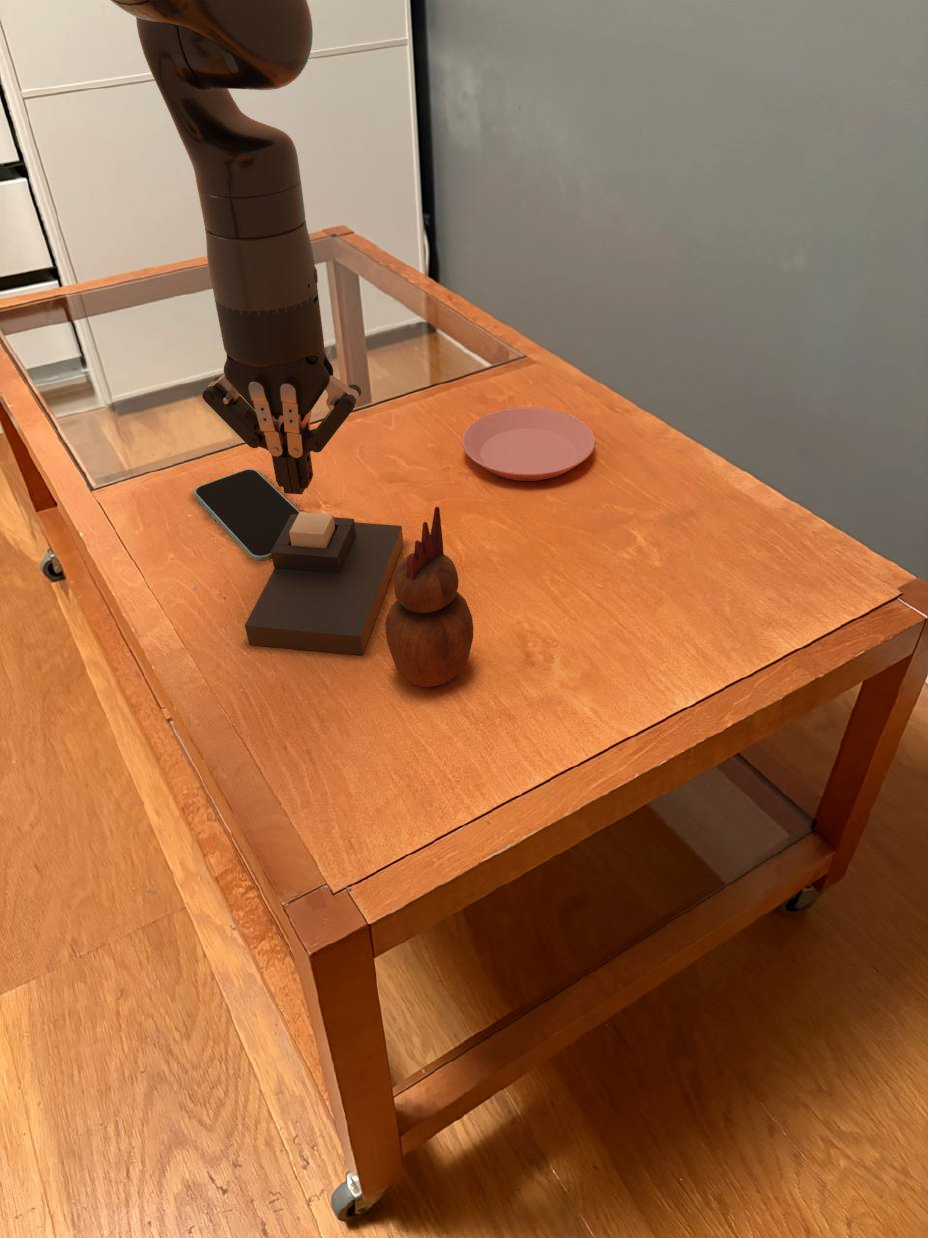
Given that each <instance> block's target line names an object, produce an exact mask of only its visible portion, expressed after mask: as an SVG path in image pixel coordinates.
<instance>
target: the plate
mask: <svg viewBox="0 0 928 1238" xmlns="http://www.w3.org/2000/svg"><path fill="white" fill-rule="evenodd" d="M461 444H462V445H461V446H462V449H463V450H464V452H465V454H466V455H467V456H468V457H469V458H470V459H471V460H472V461H473V462H475V463H476V464H477V465H479V466H481V467H482V468H484V469H485V470H487V471H488V472H490V473H492V474H494V475H496V476H498V477H501V478H503V479H504V478H505V479H509V480H514V481H522V482H524V481H525V482H535V481H543V480H548V479H553V478H556V477H559V476H561V475H564V474H565V473H567V472H569V471H570V470H572V469H574V468H575V467H577V466H578V465H580V464H581V463H583V462H584V461H586V460H587V459H588V458H589V457H590V456H591V455H592V453H593V451H594V449H595V447H596V437H595V433H594V432H593V431H592V429H591V428H590V426H588V424H587V423H586V422H584V421H582V420H581V419H580V418H578V417H576V416H574V415H571V414H569V413H567V412H563V411H560V410H556V409H551V408H545V407H531V406H530V407H529V406H527V407H526V406H525V407H513V408H506V409H502V410H497V411H494V412H491V413H488V414H486V415H483V416H481V417H480V418H477V419H476V420H474V421H473V422H472V423H471V424H470V425H468V427H467V428H466V429H465V431H464V433H463V435H462V438H461Z"/></svg>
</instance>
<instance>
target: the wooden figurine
mask: <svg viewBox="0 0 928 1238" xmlns="http://www.w3.org/2000/svg"><path fill="white" fill-rule="evenodd" d="M428 524H429V523H428V522H426V521H423V522H422V527H421V528H422V529H421V540H417V539H415V541H414V551H413V552H411V553H409V554H408V555H406V556H405V557H404V558H403V559H401V561H400V562H399V563H398V565H397V566H396V569H395V570H394V571H395V572H394V575H393V589H394V596H395V599H396V600H395V601H394V603H393V604H392V605H391V606H390V608H389V610H388V613H387V614H386V618H385V622H384V626H385V627H384V628H385V637H386V642H387V643H386V644H387V645H388V649H389V652H390V655H391V658H392V661H393V664H394V666H395V668H396V670H397V671H398V672H399V674H400V675H401V676H402V677H403V678H404V679H405V680H406V681H407V682H408V683H410V684H412V685H413V686H415V687H420V688H421V687H422V688H430V687H431V688H432V687H437V686H440V685H443V684H446V683H448V682H450V681H451V680H453V679H454V678H456V677H457V676H458V675H459V674H460V673H461V672H462V671H463V669H464V667H465V665H466V664H467V661H468V659H469V656H470V653H471V649H472V645H473V639H474V622H473V614H472V613H471V610H470V607H469V606H468V603H467V600H466V598H465V597H463V595H461V593H459V592H458V589H459V582H460V581H459V574H458V571H457V568H456V565H455V563H454V561H453V560H452V559H451V558H450V557H449V556H448V555H446V554H445V551H444V541H443V540H444V539H443V531H442V519H441V511H440V507H439V506H435V507H434V511H433V517H432V522H431V529H430V528H429V525H428Z"/></svg>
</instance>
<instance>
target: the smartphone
mask: <svg viewBox="0 0 928 1238" xmlns="http://www.w3.org/2000/svg"><path fill="white" fill-rule="evenodd" d="M194 496H195V499H196V501H197V502H198V503H199V505H200V506H201V507H202V508H203V509H204V510H205V511H206V512H207V513H208V514H209V515H210V516H211V517H212V518H213V519H214V520H215V522H216V523H217V524H219V526H220V527H221V528H222V529H223V530H224V531H225V533H227V535H229V536H230V537H231V539H232V540H233V541H234V542H235V543H236V544H237V546H239V547H240V548H241V549H242V550H243V551H244V552H245V553H246V554H247V556H248V557H249V558H251V559H252V560H254V561H256V562H263V561H268V560H269V559H272V556H271V551H272V549H273V547H274V545H275V543H276V542H277V540H278V538H279V536H280V534H281V532H282V531H283V529H284V527H285V525H286V523H287V521H288V520H289V518H290V516H291V514H297V515H298V514H299V512H301V511H300V510H299V509H298V508H297V507H296V506H295V505H294V504H293V503H292V502H291V501H290V500H289V499H288V498H286V497H285V496H284V495H283V494H282V493H281V492H280V490H278V489H277V488H276V487H275V486H274V485H273V484H272V483H271V482H269V480H267V478H266V477H264V475H262V473H260V472H259V471H258V470H256V469H253V468H247V469H243V470H239V471H237V472H234V473H232V474H229V475H226V476H223V477H219V478H217V479H215V480H211V481H209V482H207V483H203V484H201V485H199V486H197V487H196V488H195V489H194Z"/></svg>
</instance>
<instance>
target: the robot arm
mask: <svg viewBox="0 0 928 1238" xmlns="http://www.w3.org/2000/svg"><path fill="white" fill-rule="evenodd" d="M109 1H110V2H112V3H113V4H114V5H115V6H116V7H118V8H119V9H121V10H122V11H124V12H126V13H127V14H129V15H131V16H133V17H135V20H136V21H135V22H136V29H137V35H138V38H139V42H140V46H141V49H142V53H143V55H144V58H145V61H146V63H147V66H148V68H149V70H150V72H151V75H152V77H153V80H154V82H155V84H156V86H157V88H158V90H159V92H160V95H161V96H162V99H163V101H164V104H165V105H166V108H167V110H168V112H169V115H170V117H171V119H172V121H173V124H174V127H175V129H176V131H177V133H178V136H179V138H180V140H181V142H182V144H183V146H184V149H185V151H186V153H187V155H188V158H189V160H190V163H191V165H192V169H193V173H194V177H195V184H196V187H197V193H198V198H199V203H200V208H201V209H200V210H201V214H202V219H203V225H204V231H205V239H206V240H205V241H206V257H207V258H206V259H207V264H208V265H207V267H208V272H209V276H210V277H209V278H210V282H211V287H212V293H213V298H214V303H215V308H216V313H217V318H218V323H219V329H220V335H221V339H222V340H221V341H222V344H223V349H224V352H225V353H226V359H225V362H224V365H223V374H222V375H221V376H215V377H214V378H213V379H212V381H210V383H209V384H208V386H207V387H206V388H205V390H203V392H202V400H203V401H204V402H205V403H206V404H207V405H208V406H209V407H210V408H211V409H212V411H214V412H215V413H216V414H217V415H218V417H220V418H221V419H222V420H223V421H224V423H226V424H227V425H228V427H230V428H231V430H232V431H233V432H235V433H236V435H237V436H238V437H239V438H240V439H241V440H242V441H243V442H244V443H245V444H246V445H247V446H248V447H249V448H251V449H257V448H262V449H263V450H266V451H268V452H269V454H270V455H271V459H272V460H271V461H272V465H273V470H274V476H275V482H276V484H277V486H278V487H280V488H282V489H283V493H284V494H286V495H287V494H289V495H303V494H304V492H305V490H306V489H308V487H309V486H310V484H311V482H312V480H313V477H314V470H313V463H312V455H311V452H313V453H321V452H322V451H323V450H324V448H325V447H326V446H327V444H328V443H329V442H330V441H331V439H332V438H333V436H334V435H335V434H336V433H337V431H338V430H339V429H340V427H341V426H342V425H343V424H344V423H345V421H346V420H347V419H348V417H349V416H350V415H351V413H352V412H353V411H354V409H355V407H356V405H357V403H358V402H359V400H360V398H361V395H362V389H361V388H360V386H358V385H356V384H348V385H347V384H346V383H344V382H343V381H341V380H340V379H338V378H337V377H336V376H335V375H334V368H333V367H334V366H333V364H332V363H331V361H330V360H329V359H328V357H327V355H326V351H325V339H324V331H323V322H322V315H321V306H320V297H319V289H318V282H319V278H318V269H317V268H316V265H315V256H314V251H313V247H312V242H311V238H310V234H309V230H308V226H307V220H306V210H305V204H304V196H303V195H304V194H303V187H302V180H301V171H300V163H299V156H298V152H297V148H296V145H295V143H294V140H293V139H292V138H291V136H290V135H289V134H288V133H286V132H285V131H283V130H281V129H280V128H277V127H275V126H272V125H269V124H267V123H264V122H260V121H258V120H255V119H253V118H251V117H249V116H248V115H246V114H245V113H244V112H242V110H241V108H240V107H239V106H238V105H237V103H236V101H235V100H234V98H233V96H232V94H231V92H230V90H249V91H272V90H273V91H274V90H278V89H281V88H284V87H286V86H288V85H291V84H292V83H293V82H294V81H295V80H297V78H299V77H300V75H301V74H302V72H303V71H304V69H305V67H306V66H307V64H308V62H309V59H310V55H311V52H312V47H313V37H314V34H313V33H314V32H313V21H312V14H311V11H310V7H309V3H308V0H109ZM325 391H326V393H327V399H326V406H327V407H328V412H327V414H325V416H324V418H323V419H322V420H321V421H320V423H318V424H319V425H317V427H316V428H313V429H311V417H312V410H313V408H315V406H316V404H317V402H318V401H319V400H320V398H321V396H322V395H323V393H324V392H325Z"/></svg>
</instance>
